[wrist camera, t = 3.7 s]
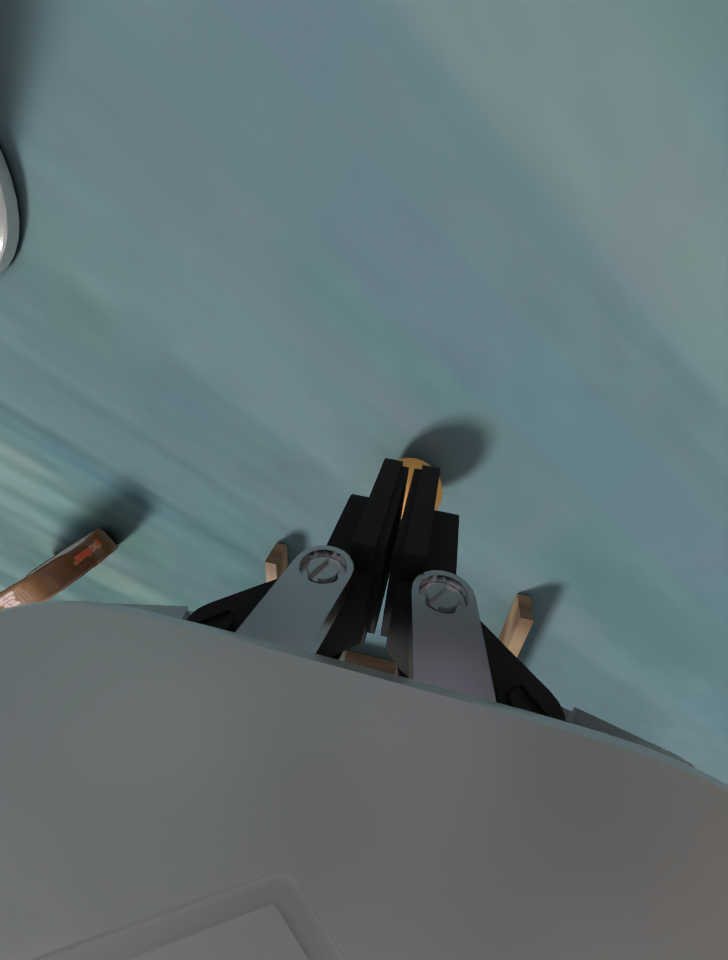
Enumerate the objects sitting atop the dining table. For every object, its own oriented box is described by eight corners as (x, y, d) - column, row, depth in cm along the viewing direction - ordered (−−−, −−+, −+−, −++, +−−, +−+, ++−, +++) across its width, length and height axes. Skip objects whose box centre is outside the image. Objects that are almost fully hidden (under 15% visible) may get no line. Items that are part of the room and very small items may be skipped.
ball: (385, 441, 28) (373, 473, 24) (449, 452, 27) (446, 486, 24) (379, 494, 31) (367, 530, 27) (438, 504, 30) (434, 543, 26)
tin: (63, 576, 46) (-9, 637, 39) (41, 557, 45) (-37, 616, 38) (135, 535, 40) (64, 600, 33) (111, 512, 39) (32, 573, 32)
